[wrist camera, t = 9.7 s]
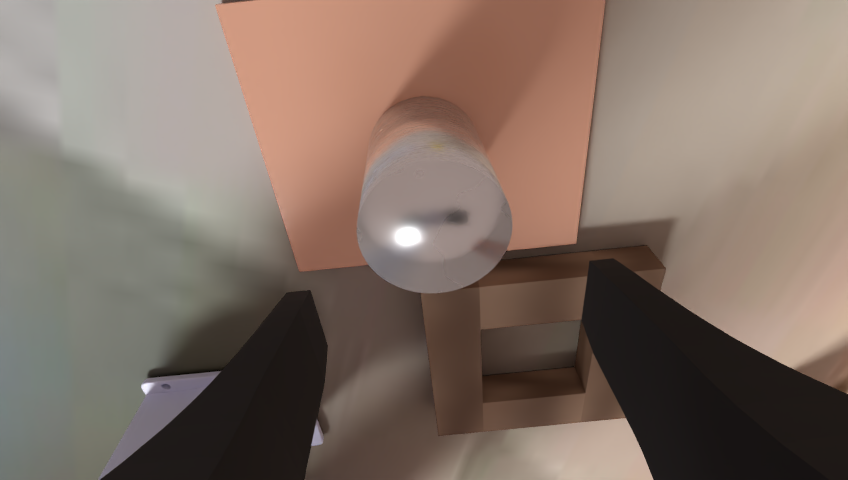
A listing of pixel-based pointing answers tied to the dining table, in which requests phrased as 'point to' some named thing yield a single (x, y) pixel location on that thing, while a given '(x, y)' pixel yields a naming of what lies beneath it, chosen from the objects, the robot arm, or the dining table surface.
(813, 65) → the dining table surface
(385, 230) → the end cover
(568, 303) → the bore block
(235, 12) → the tile
